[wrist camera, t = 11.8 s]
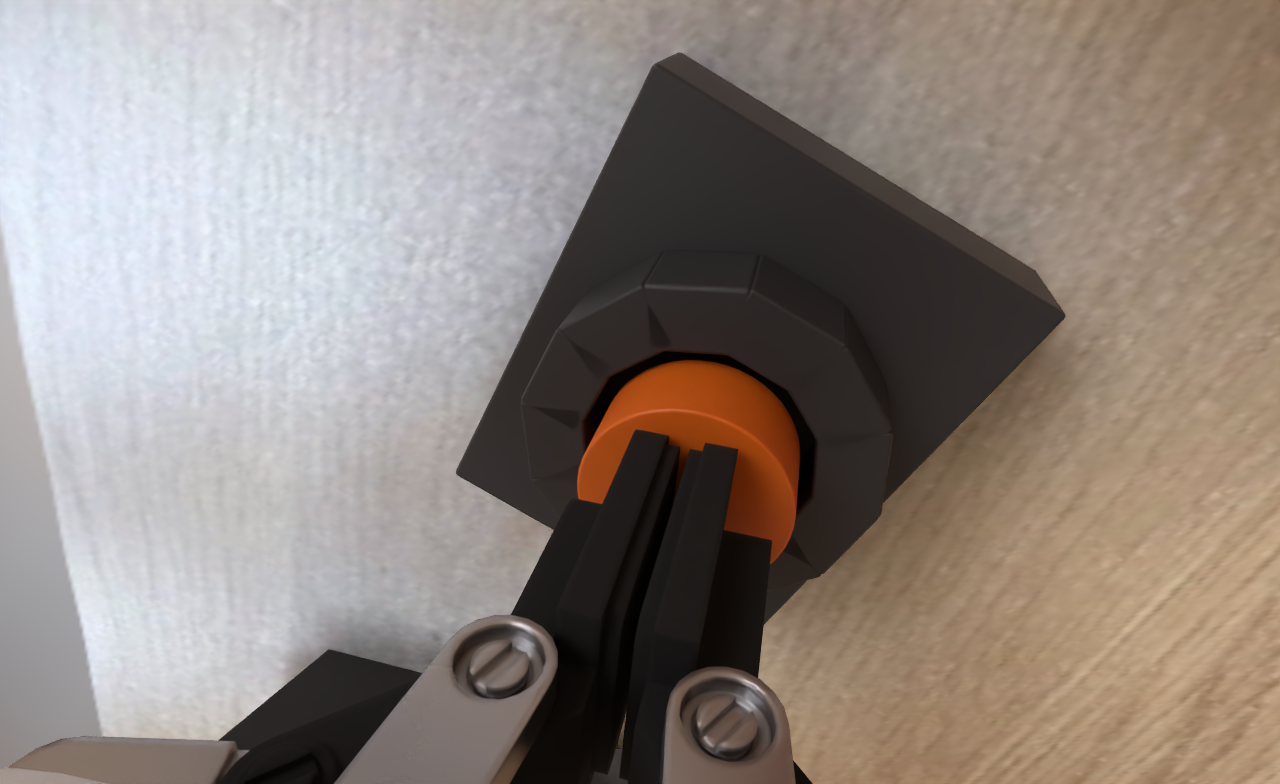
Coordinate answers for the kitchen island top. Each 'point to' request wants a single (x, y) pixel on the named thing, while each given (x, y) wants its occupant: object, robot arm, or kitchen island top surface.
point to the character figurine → (337, 701)
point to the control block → (760, 311)
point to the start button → (707, 440)
